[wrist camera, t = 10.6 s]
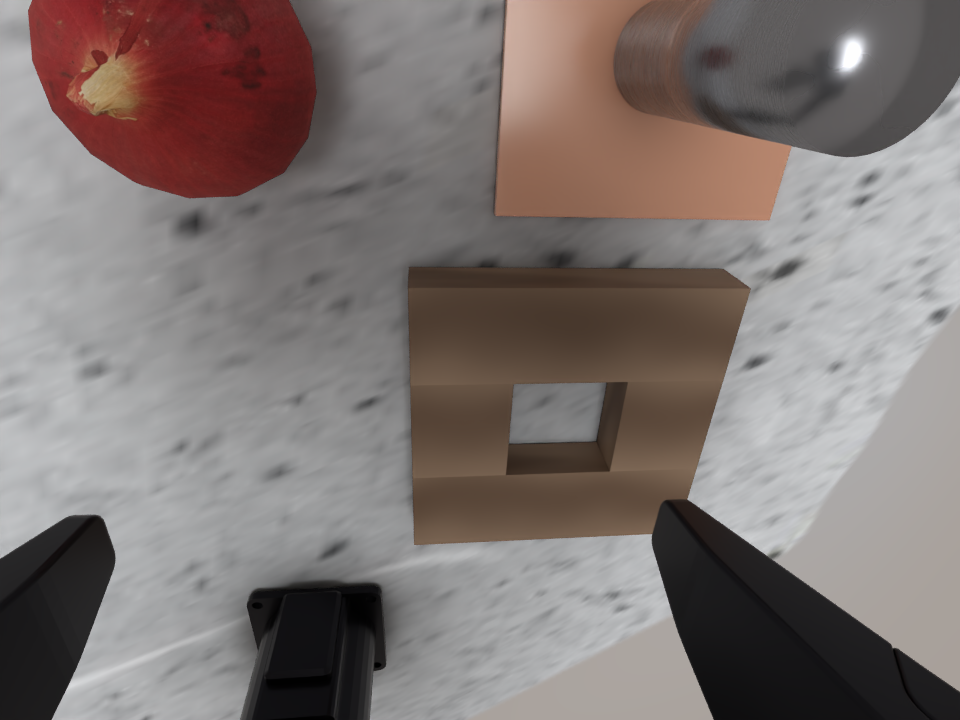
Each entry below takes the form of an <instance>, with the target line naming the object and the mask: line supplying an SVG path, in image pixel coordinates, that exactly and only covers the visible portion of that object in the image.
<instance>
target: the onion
mask: <svg viewBox="0 0 960 720" xmlns="http://www.w3.org/2000/svg"><path fill="white" fill-rule="evenodd" d="M28 15H29V27H30V38H31V50H32V61H33V64H34V66H35V69H36V71H37V74H38V76H39V79H40V81H41V84H42V86H43V89H44V91H45V94H46V96H47V99H48V101H49V104H50V106H51V109H52V111H53V112H54V113H55V114H56V115H57V116H58V117H59V119H60V120H61V121H62V122H63V123H64V124H65V125H66V126H67V128H68V129H69V130H70V131H71V132H72V133H73V134H74V135H75V137H76V138H77V139H78V140H79V141H80V142H81V143H82V144H83V146H84V147H85V148H86V149H87V150H88V151H89V152H90V153H91V154H92V155H93V156H95V157H97V158H98V159H100V160H101V161H103V162H104V163H106V164H107V165H109V166H110V167H112V168H114V169H115V170H117V171H118V172H120V173H121V174H123V175H124V176H126V177H127V178H129V179H130V180H132V181H134V182H136V183H138V184H141V185H144V186H147V187H151V188H154V189H158V190H162V191H165V192H169V193H172V194H176V195H180V196H183V197H187V198H206V197H229V196H238V195H241V194H243V193H246V192H248V191H249V190H251V189H253V188H255V187H257V186H259V185H261V184H263V183H265V182H267V181H269V180H271V179H273V178H275V177H277V176H278V175H280V174H282V173H284V172H285V170H286V169H287V167H288V166H289V165H290V163H291V162H292V160H293V159H294V157H295V156H296V155H297V153H298V152H299V150H300V149H301V147H302V146H303V144H304V143H305V142H306V140H307V139H308V135H309V130H310V124H311V119H312V114H313V108H314V103H315V97H316V93H317V91H316V83H315V74H314V66H313V58H312V49H311V46H310V44H309V42H308V39H307V37H306V35H305V33H304V31H303V29H302V27H301V25H300V23H299V20H298V18H297V16H296V14H295V12H294V10H293V8H292V6H291V3H290V1H289V0H32V2H31V5H30V7H29V10H28Z"/></svg>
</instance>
